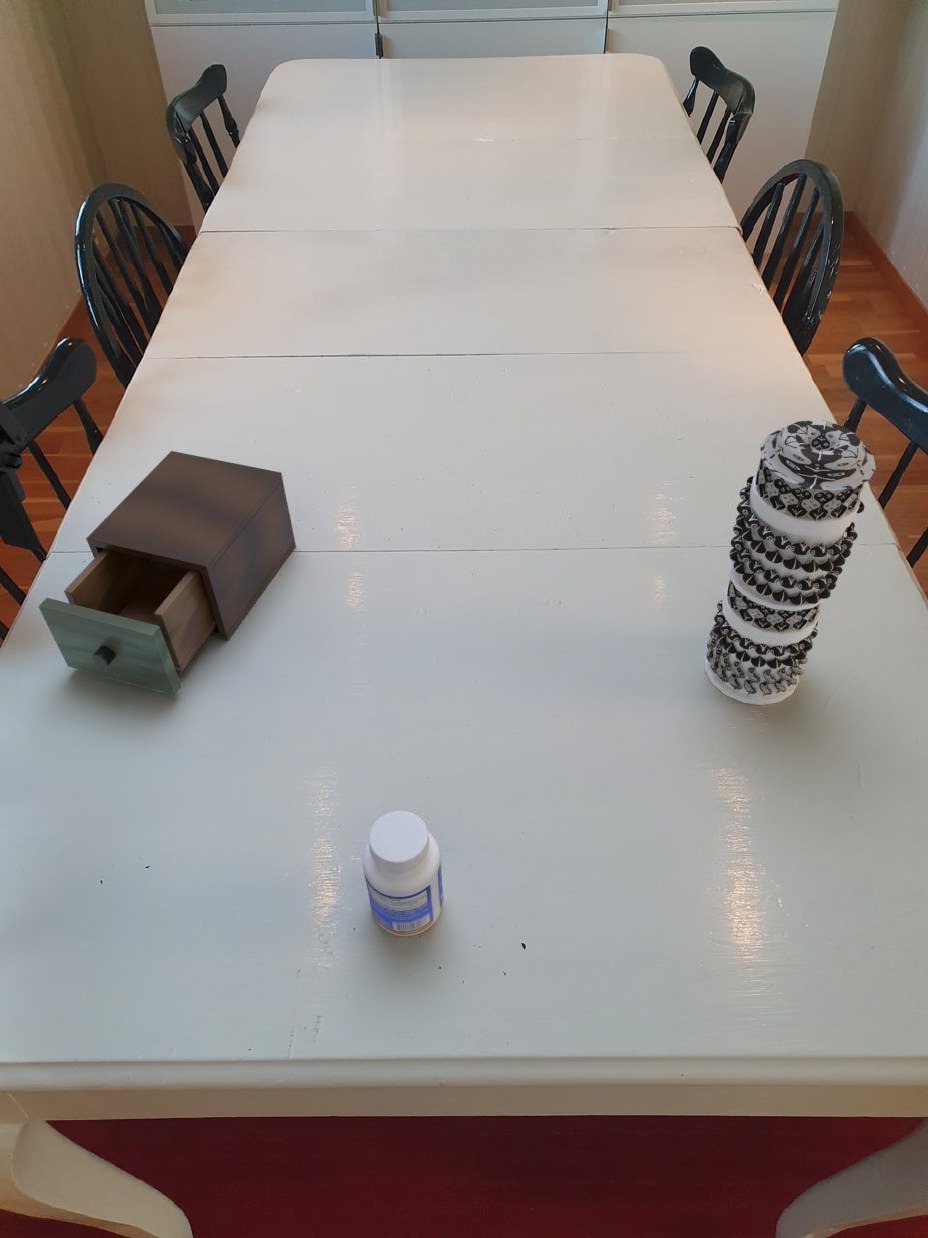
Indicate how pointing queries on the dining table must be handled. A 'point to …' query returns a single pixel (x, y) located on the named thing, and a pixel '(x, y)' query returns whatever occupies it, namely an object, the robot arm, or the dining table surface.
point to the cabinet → (207, 528)
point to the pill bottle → (403, 874)
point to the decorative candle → (786, 557)
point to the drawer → (132, 620)
